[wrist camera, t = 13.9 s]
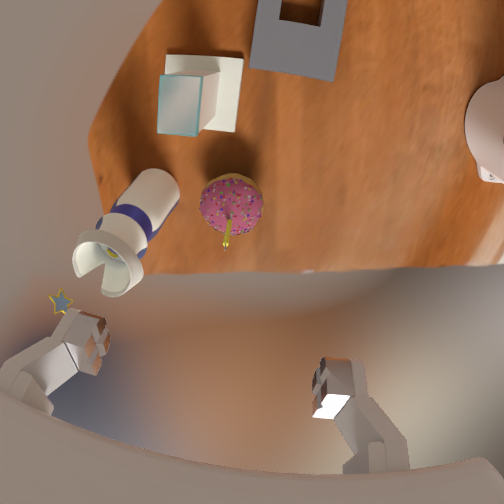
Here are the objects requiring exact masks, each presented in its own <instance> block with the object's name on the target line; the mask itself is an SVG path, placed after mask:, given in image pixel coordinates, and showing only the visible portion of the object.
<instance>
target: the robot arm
mask: <svg viewBox="0 0 504 504" xmlns="http://www.w3.org/2000/svg"><path fill="white" fill-rule="evenodd" d="M465 135H466V140H467V143H468V146H469V149H470V151H471V153H472V155H473V156H474V158H475V160H476V162H477V169H478V175H479V177H480V178H481V179H482V180H484V181H488V182H497V183H504V75H503V76H502V77H501V78H500V79H499V80H497V81H494V82H490V83H487V84H485V85H483V86H482V87H480V88H479V89H478V90H477V91H476V93H475V94H474V95H473V97H472V98H471V100H470V103H469V105H468V108H467V112H466V117H465ZM490 174H491V175H490ZM106 324H107V323H106V320H105V318H104V317H100V316H97V315H93V314H90V313H87V312H83V311H80V310H77V309H73V308H70V309H69V310H67V312H66V313H65V315H64V317H63V318H62V320H61V321H60V323H59V325H58V326H57V328H56V329H55V331H54V333H53V334H52V336H51V338H50V337H46V338H45V339H43V340H41V341H39V342H38V343H36V344H34V345H33V346H31V347H29V348H27V349H26V350H24V351H22V352H20V353H19V354H17V355H15V356H14V357H12V358H10V359H8V360H7V361H5V363H4V364H3V366H2V368H1V370H0V504H504V480H503V478H502V476H501V475H500V474H499V472H498V471H497V470H496V469H495V468H494V467H493V466H492V465H491V464H490V463H489V462H488V461H487V460H486V459H484V458H482V457H478V458H473V459H468V460H464V461H460V462H454V463H449V464H444V465H438V466H432V467H426V468H419V469H411V470H410V464H409V456H408V448H407V441H406V439H405V437H404V436H403V435H402V434H401V433H400V431H399V430H398V429H397V428H396V426H395V425H394V424H393V423H392V421H391V420H390V419H389V418H388V416H387V415H386V414H385V413H384V411H383V410H382V409H381V408H380V407H379V405H378V404H377V403H376V402H375V400H374V399H373V398H371V397H369V396H368V389H367V381H366V375H365V368H364V363H363V361H362V360H354V359H346V358H332V357H323V358H322V359H321V361H320V367H319V368H317V369H316V371H315V374H314V376H313V380H312V393H313V394H314V395H315V398H314V400H313V401H312V417H316V418H328V419H334V422H335V423H336V425H337V427H338V429H339V430H340V432H341V434H342V435H343V437H344V439H345V440H346V442H347V444H348V445H349V447H350V449H351V450H352V452H353V454H354V455H355V456H353V457H352V458H351V459H350V460H348V461H347V462H346V463H345V464H344V465H343V474H295V473H279V472H267V471H257V470H248V469H240V468H233V467H226V466H220V465H214V464H208V463H202V462H197V461H192V460H187V459H183V458H178V457H174V456H170V455H165V454H161V453H157V452H153V451H150V450H146V449H142V448H139V447H135V446H132V445H128V444H125V443H122V442H119V441H116V440H112V439H110V438H106V437H104V436H101V435H98V434H95V433H93V432H90V431H87V430H85V429H82V428H79V427H77V426H74V425H72V424H69V423H67V422H64V421H61V420H60V419H57V418H55V417H53V416H51V413H52V411H53V409H54V407H53V404H52V403H51V402H50V400H49V399H48V398H47V395H49V394H50V393H51V392H52V391H54V390H55V389H56V388H58V387H59V386H60V385H61V384H63V383H64V382H65V381H66V380H68V379H69V378H70V377H72V376H73V375H74V374H75V373H77V372H78V370H79V371H82V372H85V373H88V374H92V375H95V376H96V375H97V373H98V370H99V368H100V366H101V364H102V360H101V357H102V356H103V355H105V354H106V353H107V351H108V349H109V345H110V333H109V331H108V330H107V329H106V328H105V326H106Z"/></svg>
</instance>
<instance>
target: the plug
mask: <svg viewBox="0 0 504 504" xmlns="http://www.w3.org/2000/svg"><path fill="white" fill-rule="evenodd" d="M219 81H220V72H219V71H206V70H185V71H180V72H175V73H170V74H163V75H160V84H159V100H158V122H157V133H159V134H172V135H184V136H195V137H196V136H197V135H198V133H199V132H200V131H201V130H202V129H203V128H204V127H205V126H206V125H207V124H208V123H209V122H210V121H211V120H212V119H213V118H214V117H215V116H216V108H217V99H218V90H219Z"/></svg>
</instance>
